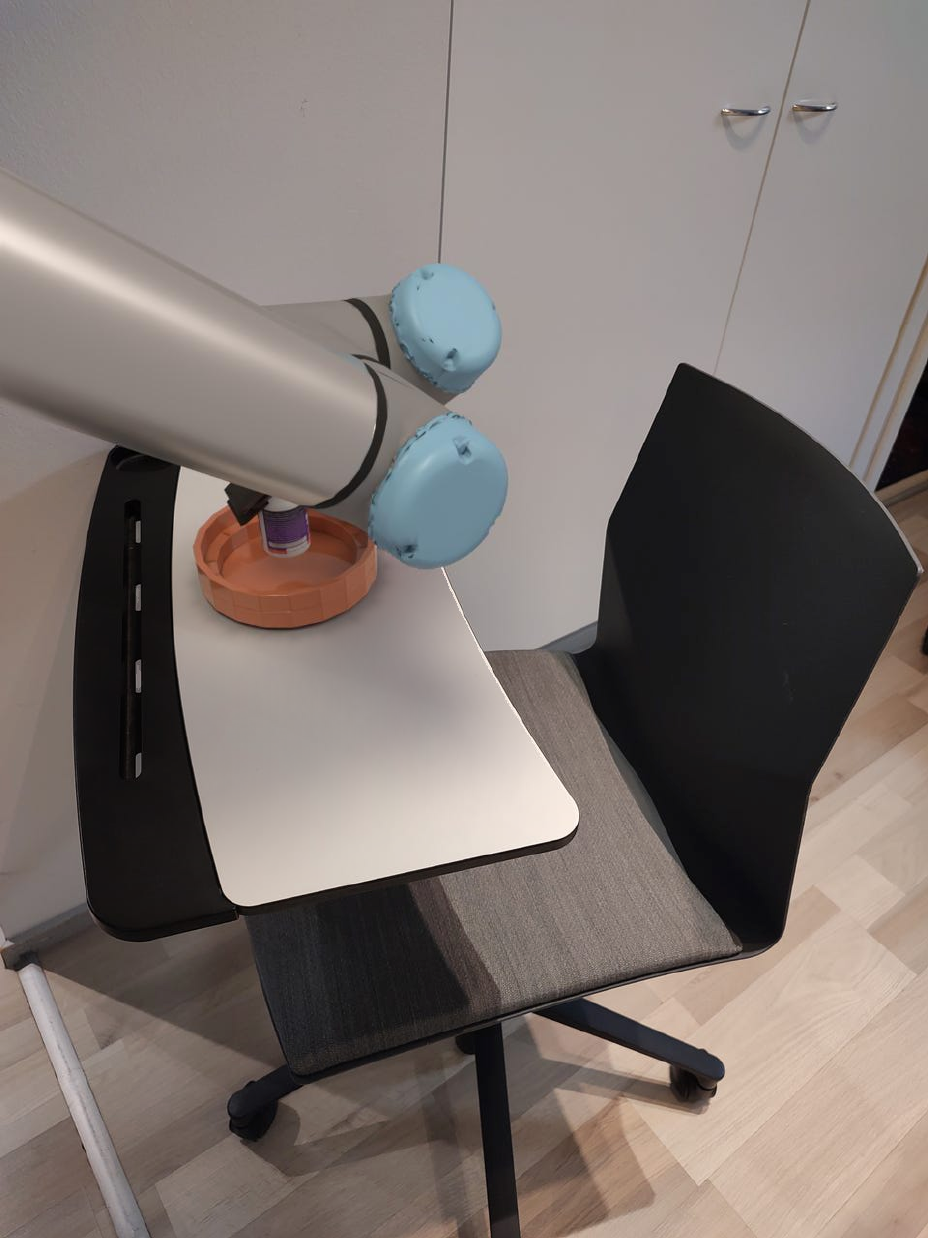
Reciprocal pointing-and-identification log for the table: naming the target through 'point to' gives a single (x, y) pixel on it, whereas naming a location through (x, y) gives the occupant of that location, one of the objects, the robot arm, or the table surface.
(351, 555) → the bowl
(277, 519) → the pill bottle
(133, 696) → the table surface
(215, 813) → the table surface
